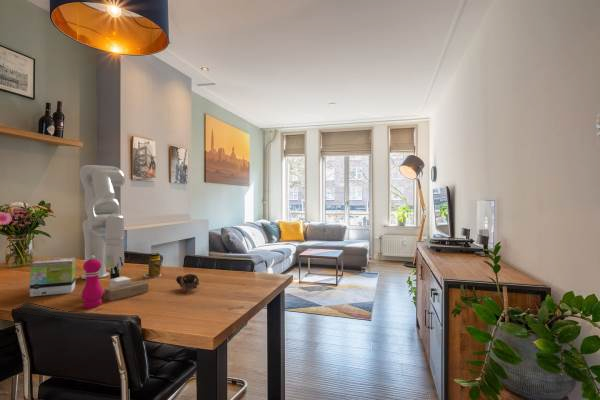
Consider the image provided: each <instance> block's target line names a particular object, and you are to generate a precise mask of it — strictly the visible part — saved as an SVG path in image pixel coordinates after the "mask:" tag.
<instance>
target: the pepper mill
mask: <svg viewBox="0 0 600 400" xmlns="http://www.w3.org/2000/svg"><path fill="white" fill-rule="evenodd" d="M100 268H101V262H100V261H99V260H97V259H95V256H93V255H92V256H90V260H88V261H86V262H85V261H84V263H83V270H84V274H85V276H86V279H85V284H84V287H83V289H82V292H81V299H82V301H83V302H82V307H83V308H84V309H92V308H96V307H99V306H101V305H102V303H103V300H102V297H103V296H104V290H103V287H102V285H101V284H100V280H99V279H100V278H98V277H99V274H100V271H99V269H100ZM85 271H86V272H85Z"/></svg>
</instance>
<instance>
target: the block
mask: <svg viewBox="0 0 600 400" xmlns="http://www.w3.org/2000/svg"><path fill="white" fill-rule="evenodd" d="M129 283H132V278H129V277H126V276H124V275H123V276H119V277H118V278H113V279H110V278H109V288H110V287H115V286H120V285H124V284H129Z"/></svg>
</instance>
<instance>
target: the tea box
mask: <svg viewBox="0 0 600 400" xmlns="http://www.w3.org/2000/svg"><path fill="white" fill-rule="evenodd" d="M76 265H77V264H76V257H60V258H59V257H56V258H42V259H36V260H34V261H33V262H31V263H30V264H29V298H32V297H39V296H50V295H62V294H71V293H72V292H73V291H74V289H75V288H76V268H77V267H76Z"/></svg>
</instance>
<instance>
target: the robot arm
mask: <svg viewBox="0 0 600 400" xmlns="http://www.w3.org/2000/svg"><path fill="white" fill-rule="evenodd" d="M79 178H80V181H81V184H82V187H83V188H84V202H85V203H84V206H85V213H86V215H87V218H86V219H85V220H84V221H83V222H82V230H83V231H82V232H83V239H84V263H85V262H86V261H88V260H90V256H92V255H93V256H95V259H97V260H99V261H100V262H101V268H100V269H99V271H100V274H99V277H98V279H102V278H106V277H107V276H109V277H110V278H109V280H110V279H113V278H118V277H120V272H121V270H122V268H123V267H124V265H125V250H124V249H125V248H124V245H125V217H124V216H123V215H121V206H120V203H119V200H118V199H117V198H115V197H116V192H115V187H122V186H124V185H125V182H126V177H125V174H124V172H123V171H122V170H121V169H120V168H119V167H117V166H114V165H97V164H89V165H87V164H86V165H82V166H81V167H80V169H79ZM101 236H105V239H103V238H102V237H101ZM106 267H108V268H109V272H108V271H107V268H106ZM85 272H86V271H85V270H84V274H81V279H82V280H86V276H85Z"/></svg>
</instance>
